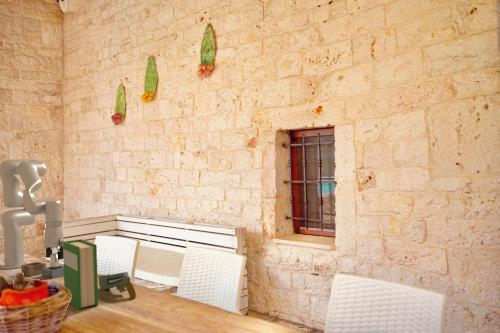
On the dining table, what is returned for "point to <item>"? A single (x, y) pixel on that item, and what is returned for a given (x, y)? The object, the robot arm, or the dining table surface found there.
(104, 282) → the gun
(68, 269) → the hardback book
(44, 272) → the seat block
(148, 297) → the dining table surface
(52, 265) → the axle
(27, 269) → the bore block
